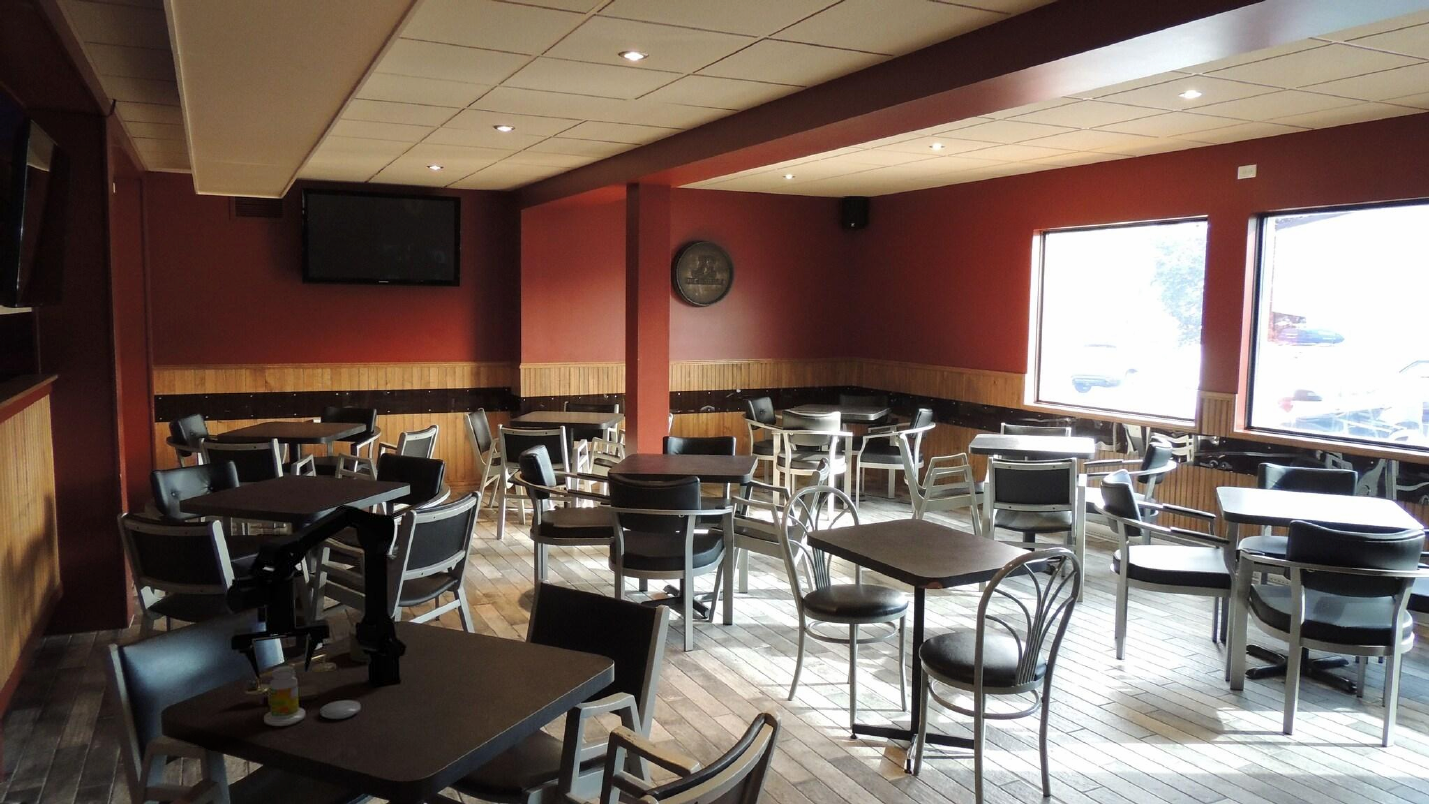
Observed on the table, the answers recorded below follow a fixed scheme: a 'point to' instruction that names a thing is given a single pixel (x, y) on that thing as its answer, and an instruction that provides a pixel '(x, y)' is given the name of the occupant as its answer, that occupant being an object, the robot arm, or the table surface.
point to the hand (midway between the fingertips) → (282, 674)
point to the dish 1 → (286, 721)
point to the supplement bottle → (283, 693)
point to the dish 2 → (340, 709)
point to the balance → (303, 692)
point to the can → (356, 650)
